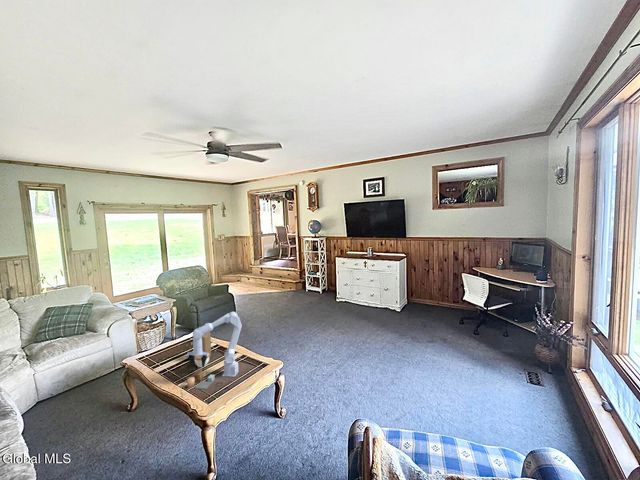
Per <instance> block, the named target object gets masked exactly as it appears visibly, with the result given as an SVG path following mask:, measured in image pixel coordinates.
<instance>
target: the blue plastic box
mask: <svg viewBox="0 0 640 480" xmlns="http://www.w3.org/2000/svg"><path fill="white" fill-rule="evenodd" d="M215 376H216V375H215V374H209V376H207V382H212V383H213V382H214V380H215V379H216V377H215Z"/></svg>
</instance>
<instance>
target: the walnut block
mask: <svg viewBox="0 0 640 480" xmlns="http://www.w3.org/2000/svg"><path fill="white" fill-rule="evenodd" d="M192 377H194V378H195V383H200V382H201V381H203V380H204V379H205V376H204V371H203V370H202V371H201V370H196V371H195V372H193V374H192Z"/></svg>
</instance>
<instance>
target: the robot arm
mask: <svg viewBox="0 0 640 480" xmlns="http://www.w3.org/2000/svg"><path fill="white" fill-rule="evenodd" d="M224 323H227V324H229V323H230V324H232V325H233V326H234V327H233V331H232V333H231V338H230V341H229V344H228V347H227V349H226V351H225V352H224V354H223V356H224V361H223V373H222V375H221V377H228V378H229V377H230V378H231V377H234V378H235V377H236V376H237V374H238V373H239V362H238V361H236V360H235V354H236V353H235V352H236V347H237V344H238V341H239V337H240V334H241V330H242V328H243V325H242V321H241V318H240V316H239V315H238V313H237V312H236V311H231V312H228V313H226V314H225V315H223V316H221V317H219V318H218V319H216V320H215V321H213V322H206V323H205V324H204V325H202V326H199V327H198V328H195V329H194V330H193V331H192V339H193V340H192V348H193V349H192V351H188V352H187V353H186V354H187V355H186V356H188V357H187V359H188V361H189V362H190V365H191V367H193V366H195V361H194V357H195V356H203V357H202V358H201V360H202V367H201V368H203V367H206V366H205V361H206V359H207V357H208V356H209V353H206V352H203V351H202V335H205V334H206V333H208V332H210V333H211V331H213V330H214V328H216V327H218V326H220V325H222V324H224Z"/></svg>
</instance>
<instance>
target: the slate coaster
mask: <svg viewBox="0 0 640 480" xmlns="http://www.w3.org/2000/svg"><path fill="white" fill-rule="evenodd" d="M212 383H213V381H212V382H208V380H207V381H203V380H202V381H201V382H198V384H197V385H196V386H194V389H198V390H201V389H202V390H207V389H208V388H209V387H210V386H211V384H212Z"/></svg>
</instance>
